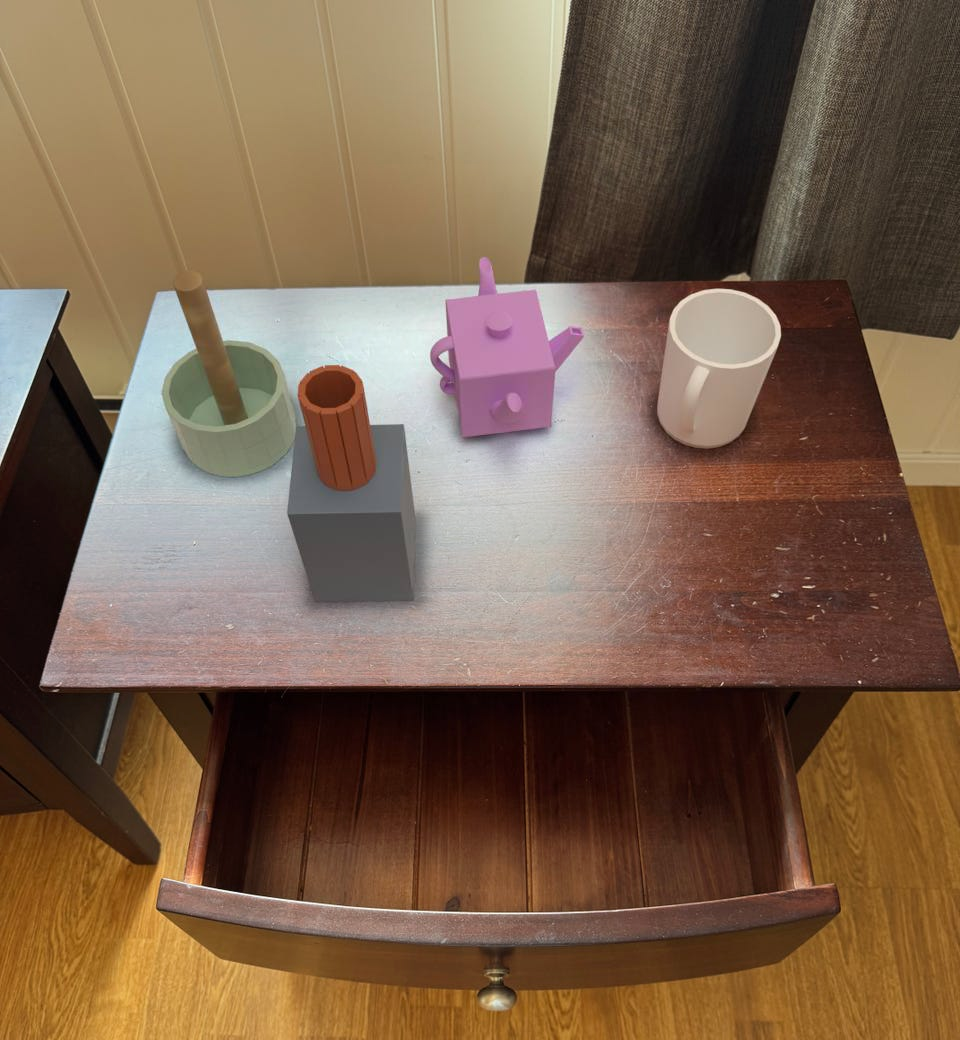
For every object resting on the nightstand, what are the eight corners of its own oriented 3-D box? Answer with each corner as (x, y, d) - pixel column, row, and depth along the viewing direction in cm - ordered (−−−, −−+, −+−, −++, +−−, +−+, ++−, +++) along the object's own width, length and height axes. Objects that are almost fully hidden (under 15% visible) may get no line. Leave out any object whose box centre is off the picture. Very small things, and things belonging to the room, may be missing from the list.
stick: (229, 437, 85) (177, 294, 71) (222, 420, 86) (168, 275, 72) (253, 429, 86) (205, 284, 72) (245, 412, 87) (197, 266, 73)
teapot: (596, 469, 84) (608, 390, 76) (446, 488, 83) (441, 410, 75) (559, 322, 93) (565, 236, 84) (423, 338, 92) (415, 253, 83)
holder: (314, 602, 78) (262, 438, 61) (321, 521, 82) (273, 344, 64) (413, 600, 78) (390, 435, 60) (415, 519, 82) (393, 342, 64)
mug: (674, 365, 90) (694, 275, 81) (765, 399, 88) (796, 310, 79) (625, 447, 85) (641, 361, 76) (721, 484, 83) (748, 401, 74)
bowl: (175, 479, 84) (153, 433, 79) (190, 389, 89) (171, 341, 84) (291, 476, 84) (278, 430, 79) (300, 387, 89) (288, 338, 84)
